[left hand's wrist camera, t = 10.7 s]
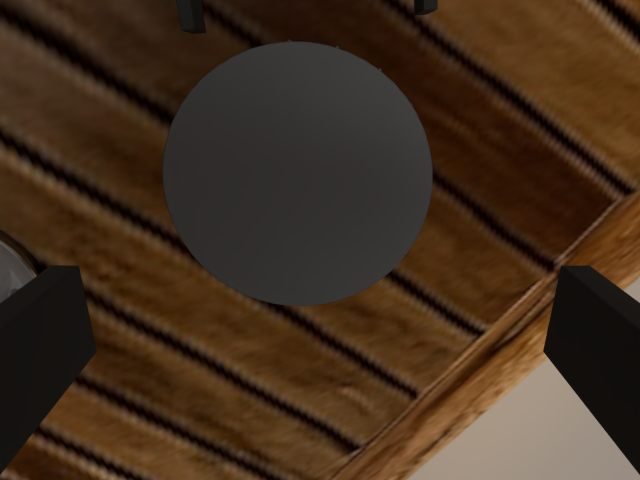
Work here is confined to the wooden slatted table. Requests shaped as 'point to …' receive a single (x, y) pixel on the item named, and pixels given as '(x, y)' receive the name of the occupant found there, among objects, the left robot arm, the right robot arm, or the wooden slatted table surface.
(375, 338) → the wooden slatted table surface
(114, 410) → the wooden slatted table surface
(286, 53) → the lid
